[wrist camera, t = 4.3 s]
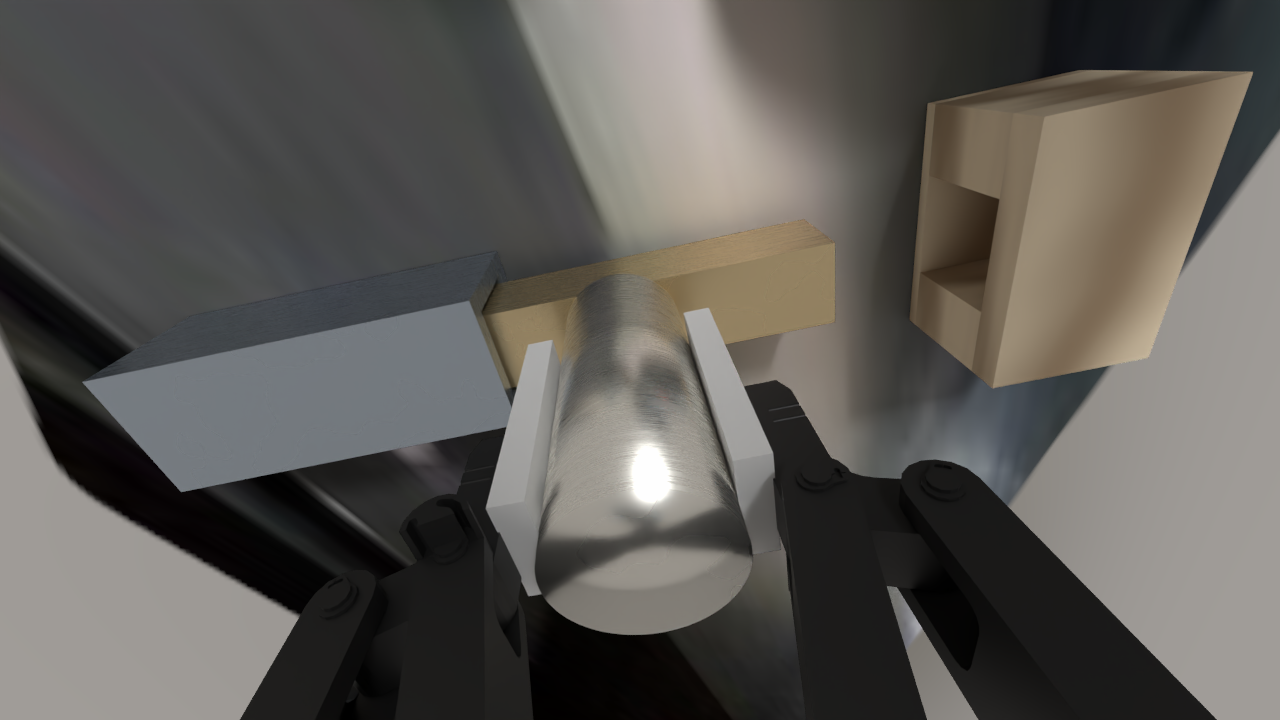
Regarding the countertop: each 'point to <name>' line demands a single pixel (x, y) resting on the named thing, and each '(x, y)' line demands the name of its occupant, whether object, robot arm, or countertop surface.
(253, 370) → the sleeve
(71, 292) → the countertop surface
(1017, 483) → the countertop surface
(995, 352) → the socket block
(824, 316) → the bar with upright post
